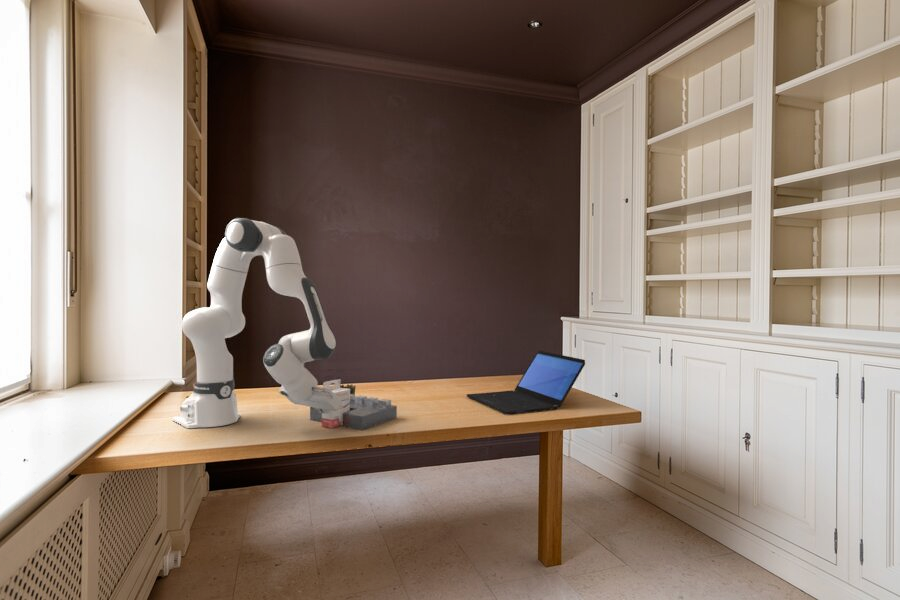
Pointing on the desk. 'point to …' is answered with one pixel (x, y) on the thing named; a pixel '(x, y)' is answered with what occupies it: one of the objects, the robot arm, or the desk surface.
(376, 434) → the desk surface
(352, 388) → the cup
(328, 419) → the ink cartridge box
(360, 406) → the castellated collar
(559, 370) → the laptop
